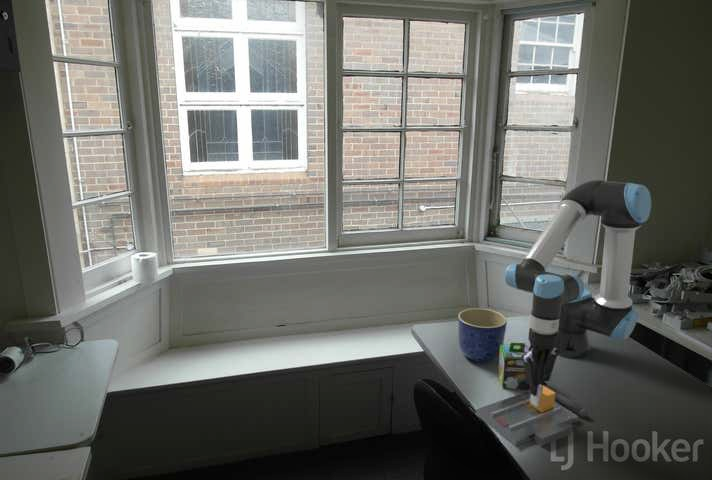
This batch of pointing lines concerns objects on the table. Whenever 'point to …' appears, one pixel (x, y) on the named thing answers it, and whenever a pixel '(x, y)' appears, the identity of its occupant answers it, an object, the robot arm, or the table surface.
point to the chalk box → (513, 366)
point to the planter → (481, 333)
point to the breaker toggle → (546, 400)
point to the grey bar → (553, 433)
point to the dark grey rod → (569, 404)
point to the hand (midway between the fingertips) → (534, 403)
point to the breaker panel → (522, 418)
